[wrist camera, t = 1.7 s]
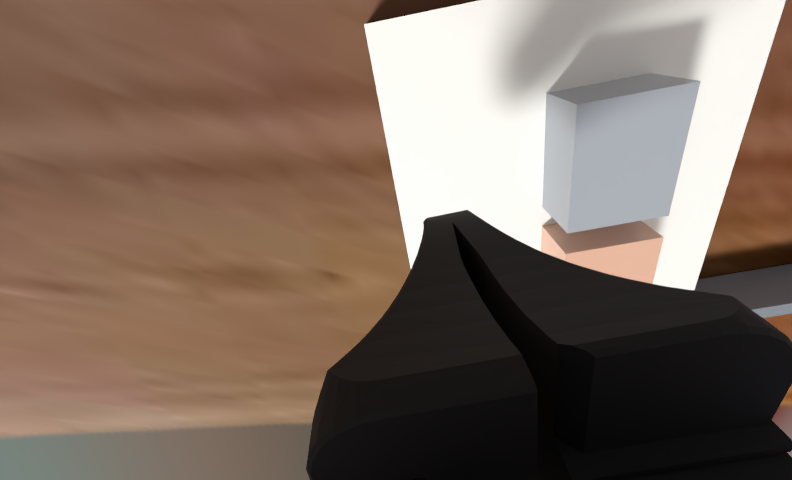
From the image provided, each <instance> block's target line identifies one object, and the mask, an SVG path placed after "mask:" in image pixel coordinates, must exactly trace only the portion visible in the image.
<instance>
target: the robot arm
mask: <svg viewBox="0 0 792 480" xmlns="http://www.w3.org/2000/svg"><path fill="white" fill-rule="evenodd" d="M423 224H424V229H423V235H422V240H421V243H420V247H419V250H418V253H417V256H416V259H415V261H414V264H413V266H412V268H411V271H410V273H409V275H408V277H407V279H406V281H405V283H404V285H403V287H402V288H401V290H400V292H399V293H398V295H397V297H396V298H395V300H394V301H393V303H392V304H391V305H390V307H389V308H388V310H387V311H386V313H385V314H384V315H383V317H382V318H381V319H380V320H379V321H378V323H377V324H376V325H375V326H374V327H373V328H372V329H371V331H370V332H369V333H368V334H367V335H366V336H365V337H364V338H363V339H362V340H361V341H360V342H359V343H358V344H357V345H356V346H355V347H354V348H353V349H352V350H351V351H349V352H348V353H347V354H346V355H345V356H344V357H343V358H342V359H341V360H339V361H338V362H337V363H336V364H335V365H334V366H332V367H331V368H330V369H329V370H328V371H327V374H326V377H325V380H324V383H323V386H322V389H321V392H320V396H319V399H318V403H317V406H316V409H315V413H314V418H313V423H312V430H311V438H310V445H309V452H308V460H307V467H306V470H307V473H308V475H309V478H310V480H792V457H791V456H790V455H789V454H788V453H787V452H790V451H791V450H792V441H791V439H790V438H789V437H788V436H787V435H786V434H785V433H784V432H783V431H782V430H781V429H780V428H779V427H778V426H777V425H776V424H775V423H774V422H773V421H772V418H773V416H774V414H775V413H776V411H777V409H778V407H779V405H780V404H781V402H782V400H783V398H784V396H785V395H786V393H787V391H788V389H789V387H790V386H791V384H792V342H791V341H790V339H789V338H788V337H787V336H786V335H785V334H783V333H782V332H781V331H779V330H778V329H777V328H775V327H774V326H773V325H771V324H770V323H769V322H767V321H766V320H765V319H763V318H762V317H760V316H759V315H758V314H756V313H755V312H754V311H752V310H751V309H750V308H748V307H747V306H746V305H744V304H743V303H742V302H740V301H739V300H737V299H736V298H734V297H733V296H729V295H722V294H715V293H708V292H701V291H694V290H687V289H680V288H673V287H666V286H661V285H656V284H651V283H646V282H641V281H636V280H631V279H627V278H622V277H618V276H614V275H610V274H606V273H603V272H599V271H596V270H592V269H589V268H585V267H582V266H579V265H576V264H573V263H570V262H567V261H564V260H561V259H559V258H556V257H554V256H551V255H548V254H546V253H543V252H541V251H539V250H537V249H534V248H532V247H530V246H528V245H526V244H524V243H522V242H520V241H518V240H516V239H514V238H512V237H511V236H509V235H507V234H505V233H503V232H502V231H500V230H498V229H497V228H495V227H493V226H492V225H490V224H489V223H487V222H485V221H484V220H482V219H481V218H479V217H478V216H476V215H475V214H473V213H472V212H470V211H468V210H464V211H459V212H454V213H449V214H444V215H439V216H434V217H429V218H426V219H425V220H424V222H423Z"/></svg>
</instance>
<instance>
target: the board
mask: <svg viewBox="0 0 792 480" xmlns="http://www.w3.org/2000/svg"><path fill="white" fill-rule="evenodd" d="M785 1H786V0H478V1H474V2H469V3H464V4H459V5H454V6H450V7H445V8H440V9H435V10H430V11H426V12H421V13H416V14H411V15H406V16H401V17H397V18H392V19H387V20H382V21H377V22H373V23H368V24H364V27H365V32H366V37H367V42H368V47H369V53H370V58H371V63H372V68H373V74H374V79H375V84H376V89H377V95H378V100H379V105H380V110H381V115H382V121H383V126H384V131H385V136H386V142H387V147H388V152H389V157H390V163H391V168H392V173H393V178H394V183H395V189H396V194H397V199H398V204H399V210H400V215H401V220H402V225H403V230H404V236H405V241H406V246H407V251H408V257H409V262H410V267H411V268H412V266H413V264H414V261H415V259H416V256H417V253H418V250H419V247H420V243H421V240H422V235H423V229H424V224H423V222H424V220H425V219H426V218H429V217H434V216H439V215H444V214H449V213H454V212H459V211H464V210H468V211H470V212H472V213H473V214H475V215H476V216H478V217H479V218H481V219H482V220H484V221H485V222H487V223H489V224H490V225H492V226H493V227H495V228H497V229H498V230H500V231H502V232H503V233H505V234H507V235H509V236H511V237H512V238H514V239H516V240H518V241H520V242H522V243H524V244H526V245H528V246H530V247H532V248H534V249H537V250H539V251H541V233H542V226H543V225H549V224H555V223H557V222H556V221H555V220H554V219H553V218H552V217H551V216H550V215H549V214H548V212H547V211H546V210H545V209H544V208H543V207H542V204H543V175H544V146H545V117H546V93H550V92H555V91H560V90H565V89H570V88H575V87H581V86H586V85H591V84H596V83H601V82H606V81H612V80H617V79H622V78H627V77H632V76H637V75H642V74H648V73H653V74H660V75H666V76H672V77H679V78H685V79H691V80H698V81H700V86H699V90H698V94H697V98H696V103H695V107H694V111H693V115H692V120H691V124H690V128H689V132H688V136H687V141H686V145H685V149H684V153H683V158H682V162H681V166H680V170H679V174H678V179H677V183H676V187H675V191H674V196H673V200H672V204H671V208H670V213H669V216H664V217H658V218H653V219H647V220H641V221H642V222H643V223H645V224H646V225H648V226H649V227H650V228H652V229H653V230H654V231H656V232H657V233H659V234H660V235H661V236H663V237H664V238H663V242H662V246H661V251H660V255H659V259H658V263H657V267H656V272H655V276H654V280H653V284H656V285H661V286H666V287H673V288H680V289H687V290H695V287H696V284H697V280H698V277H699V274H700V271H701V268H702V265H703V261H704V258H705V255H706V252H707V249H708V246H709V242H710V239H711V236H712V233H713V230H714V226H715V223H716V220H717V217H718V214H719V211H720V207H721V204H722V201H723V198H724V195H725V192H726V188H727V185H728V182H729V179H730V176H731V172H732V169H733V166H734V163H735V160H736V157H737V153H738V150H739V147H740V144H741V141H742V138H743V134H744V131H745V128H746V125H747V122H748V119H749V115H750V112H751V109H752V106H753V103H754V99H755V96H756V93H757V90H758V87H759V84H760V80H761V77H762V74H763V71H764V68H765V65H766V61H767V58H768V55H769V52H770V49H771V45H772V42H773V39H774V36H775V33H776V30H777V26H778V23H779V20H780V17H781V14H782V11H783V7H784V4H785Z"/></svg>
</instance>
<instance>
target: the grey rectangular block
mask: <svg viewBox="0 0 792 480" xmlns="http://www.w3.org/2000/svg"><path fill="white" fill-rule="evenodd" d="M699 86H700V81H698V80H691V79H685V78H679V77H672V76H666V75H660V74H653V73H648V74H642V75H637V76H632V77H627V78H622V79H617V80H612V81H606V82H601V83H596V84H591V85H586V86H581V87H575V88H570V89H565V90H560V91H555V92H550V93H546V117H545V146H544V175H543V204H542V207H543V208H544V209H545V210H546V211H547V212H548V214H549V215H550V216H551V217H552V218H553V219H554V220H555V221H556V222H557V223H558V224H559V225H560V226H561V227H562V228H563V229H564V230H565V232H566V233H567V234H568V233H573V232H579V231H585V230H590V229H596V228H602V227H607V226H613V225H619V224H624V223H630V222H636V221H641V220H647V219H653V218H658V217H664V216H669V213H670V208H671V204H672V200H673V196H674V191H675V187H676V183H677V179H678V174H679V170H680V166H681V162H682V158H683V153H684V149H685V145H686V141H687V136H688V132H689V128H690V124H691V120H692V115H693V111H694V107H695V103H696V98H697V94H698V90H699Z"/></svg>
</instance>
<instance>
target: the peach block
mask: <svg viewBox="0 0 792 480" xmlns="http://www.w3.org/2000/svg"><path fill="white" fill-rule="evenodd" d="M663 238H664V237H663V236H661V235H660V234H659V233H657V232H656V231H654V230H653V229H652V228H650V227H649V226H648V225H646V224H645V223H643V222H642V221H636V222H630V223H624V224H619V225H613V226H607V227H602V228H596V229H590V230H585V231H579V232H573V233H568V234H567V233H566V232H565V230H564V229H563V228H562V227H561V226H560V225H559V224H558V223H555V224H549V225H543V226H542V233H541V252H543V253H546V254H548V255H551V256H554V257H556V258H559V259H561V260H564V261H567V262H570V263H573V264H576V265H579V266H582V267H585V268H589V269H592V270H596V271H599V272H603V273H606V274H610V275H614V276H618V277H622V278H627V279H631V280H636V281H641V282H646V283H651V284H653V280H654V276H655V272H656V267H657V263H658V259H659V255H660V251H661V246H662V242H663Z"/></svg>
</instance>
